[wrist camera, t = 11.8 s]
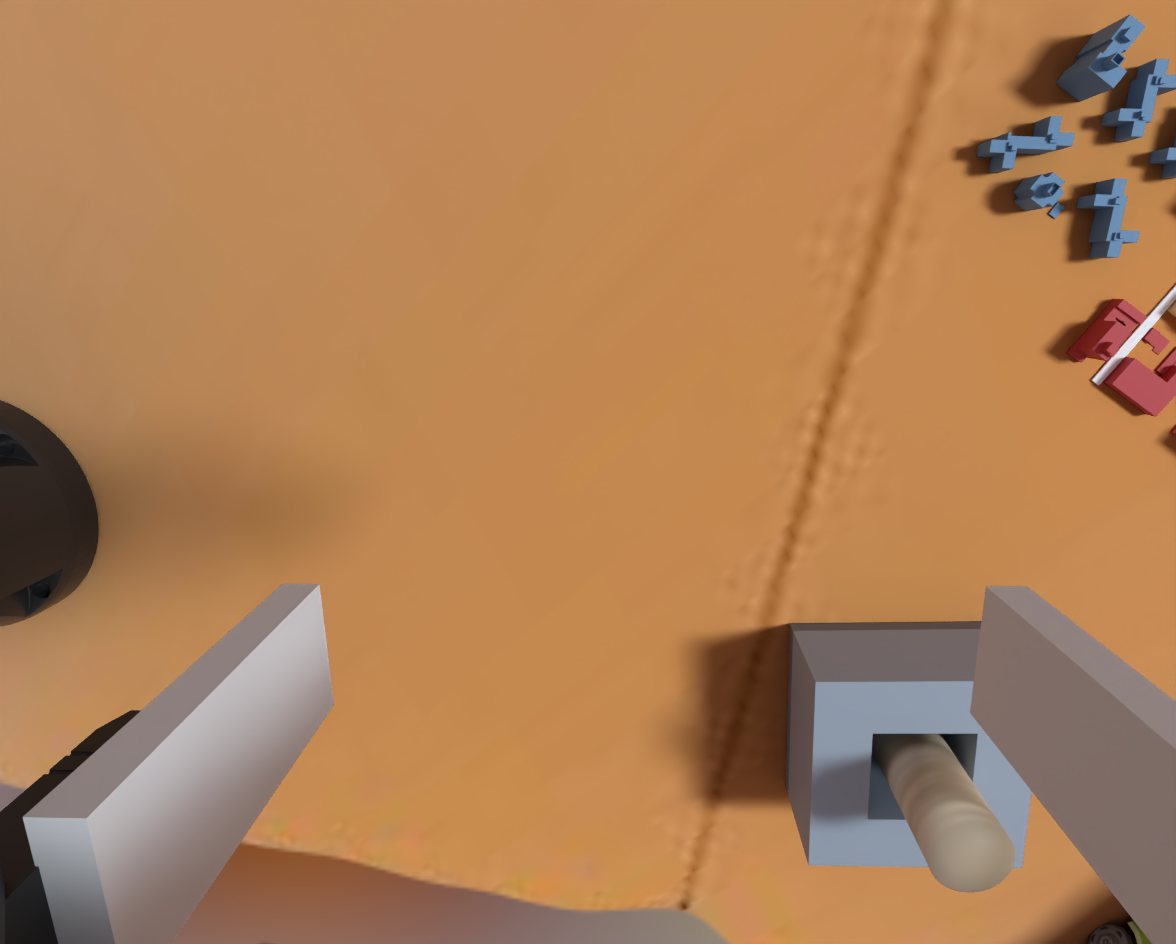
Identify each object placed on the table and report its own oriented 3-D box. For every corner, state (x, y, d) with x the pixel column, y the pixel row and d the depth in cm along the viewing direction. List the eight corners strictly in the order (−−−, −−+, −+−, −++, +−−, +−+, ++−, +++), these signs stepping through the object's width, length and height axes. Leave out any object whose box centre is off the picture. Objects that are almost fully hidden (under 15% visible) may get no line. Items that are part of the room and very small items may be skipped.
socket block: (785, 785, 50) (808, 865, 43) (789, 623, 47) (815, 682, 40) (968, 786, 49) (1021, 868, 42) (985, 621, 46) (1045, 681, 39)
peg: (856, 742, 47) (925, 891, 36) (859, 687, 46) (931, 821, 35) (919, 743, 47) (1010, 893, 35) (924, 687, 46) (1019, 823, 34)
